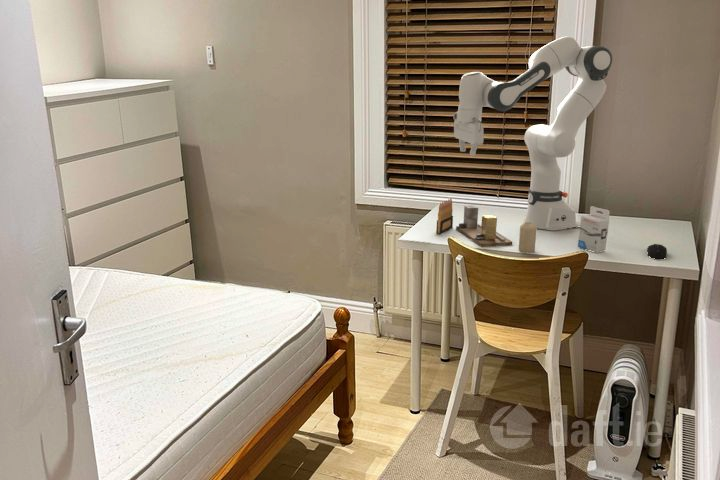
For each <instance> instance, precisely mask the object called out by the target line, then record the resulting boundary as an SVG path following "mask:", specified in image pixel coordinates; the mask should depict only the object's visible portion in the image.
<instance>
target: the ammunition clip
mask: <svg viewBox="0 0 720 480" xmlns="http://www.w3.org/2000/svg"><path fill="white" fill-rule="evenodd" d="M453 223H454V216H453V198H450V199H447V200H444V201H442V202H439V205H438V213H437V220H436V232H435V233H437V234H438V235H442V234H444V233H446V232H448V231H450V230H452V229H453V225H454V224H453Z"/></svg>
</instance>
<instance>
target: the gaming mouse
mask: <svg viewBox="0 0 720 480" xmlns="http://www.w3.org/2000/svg"><path fill="white" fill-rule="evenodd" d="M647 252H648V254H647V257H648V256H650V257H651V258H655V259H664V258H666V259H667V255H668V254H667V253H668V250H667V247H666V246H664V245H663V244H659V243H653V244H650V245H648V247H647V248H646V253H647ZM651 258H650V259H651ZM655 259H654V260H655Z"/></svg>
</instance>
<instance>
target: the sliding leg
mask: <svg viewBox="0 0 720 480" xmlns="http://www.w3.org/2000/svg"><path fill="white" fill-rule="evenodd" d="M497 222H498V217H497V216H495V215H493V214H486V215H481V224H482V226H481V234H476V237H477V238H481V237H482V238H483V239H485V240H490V239H496V232H497Z"/></svg>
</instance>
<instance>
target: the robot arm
mask: <svg viewBox="0 0 720 480" xmlns="http://www.w3.org/2000/svg"><path fill="white" fill-rule="evenodd" d="M612 63H613V54H612V53H611V51H610V50H609V49H608V48H606V47H605V46H601V45H591V46H590V45H589V46H584V47H583V46H582V47H580V45H579V42H578V41H577V40H576V39H575V38H574V37H572V36H569V35H568V36H562V37H560V38H557V39H555V40H553V41H551V42H549V43H547V44H546V45H544V46H542V47H541V48H539V49H538V50H536V51H535V52H534V53H532V55H531V56H530V57H529V59H528V69H527V71H525V72H524V73H521V74H520V75H519V76H517V77H516V78H514V79H513V80H510V81H508V82H502V81H496V80H494V79H492V78H489V77H487V75H485V74H484V73H483V72H480V71H472V72H467V73H465V74H463V75H462V76H461V79H460V82H459V90H458V100H459V104H458V109H457V111H456V112H455V113H453V120H454V123H453V135H454V138H455V139H456V140H457V139H458V143H459V151H460V152H463V153H464V152H466V151H467V147H466V143H468V144H470V147H471V148H470V150H469V155H470V156H472V157H473V156H474V157H475V156H476V154H477V153H476V152H477V149H478V146H481V145H483V144H484V125H483V124H482V119H483V118H482V115H483V107H484V106H485V107H488V108H491V109H494V110H496V111H499V112H507V111H509V110H511V109H512V108H513V107H514V106H515V105H516V104H517V102H518V101H519V100H520V99H521V97H523V96H524V95H525V94H527V93H528V92H530V91H531V90H533V89H534V88H535V87H537V86H538V85H539V84H540V83H543V82H544V81H545V80H547V79H548V78H550V77H552V76H554V75H556V74H557V73H559V72H560V71H562V70H563V69H565V70H566V71H567V72H568V74H570V75H572V76H573V77H578V79H577V83H576V84H575V86H574V88H572V90H571V91H570V92H569V93H568V95H566V97H565V98H564V99H563V100H562V102H560V103H559V105H558V107H557V108H556V116H555V118H554V120H553V122H552V123H551V125H548V124H543V123H541V124H535V125H532V126H530V127H528V129H526V131H525V133H524V136H523V139H524V144H525V145H526V148H527V150H528V153H529V160H530V169H531V171H530V172H531V174H530V187H529V189H528V196H527V198H528V199H527V203H528V205H527V208H526V214H525V216H524V220H523V223H522V224H524V223H525V222H528V223H529V222H531V223H534V225H535V226H536V227H537V229H538V230H539V229H540V230H547V231H560V230H562V231H563V230H568V229H567V228H569V229H573V228H572V227H576V228H579V227H578V226H580V223H581V221H578V220H577V217H576V211H575V209H574V208H573V207H572V206H571V205H569V204H568V203H567V202H566V201H565V200H564V199H563V198H567V197H568V192H567V191H562V190H560V187H561V185H560V184H561V176H562V175H561V174H562V173H561V169H560V166H559V165H558V161H557V158H566V157H568V156H570V155H571V154H572V153H573V151H574V149H575V147H576V136H577V134H578V131H579V129H580V127H581V126H582V125H583V123H584V122H585V120H586V119H587V118H588V117H589V116H590V114H591V113H592V111H594V110H595V109H596V106H598V104H599V102H600V101H601V100H602V98H603V96H604V95H605V93H606V91H607V84H606V82H605V80H604V79H605V78H606V77H607V76H608V73H609V71H610V68H611V66H612Z"/></svg>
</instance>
